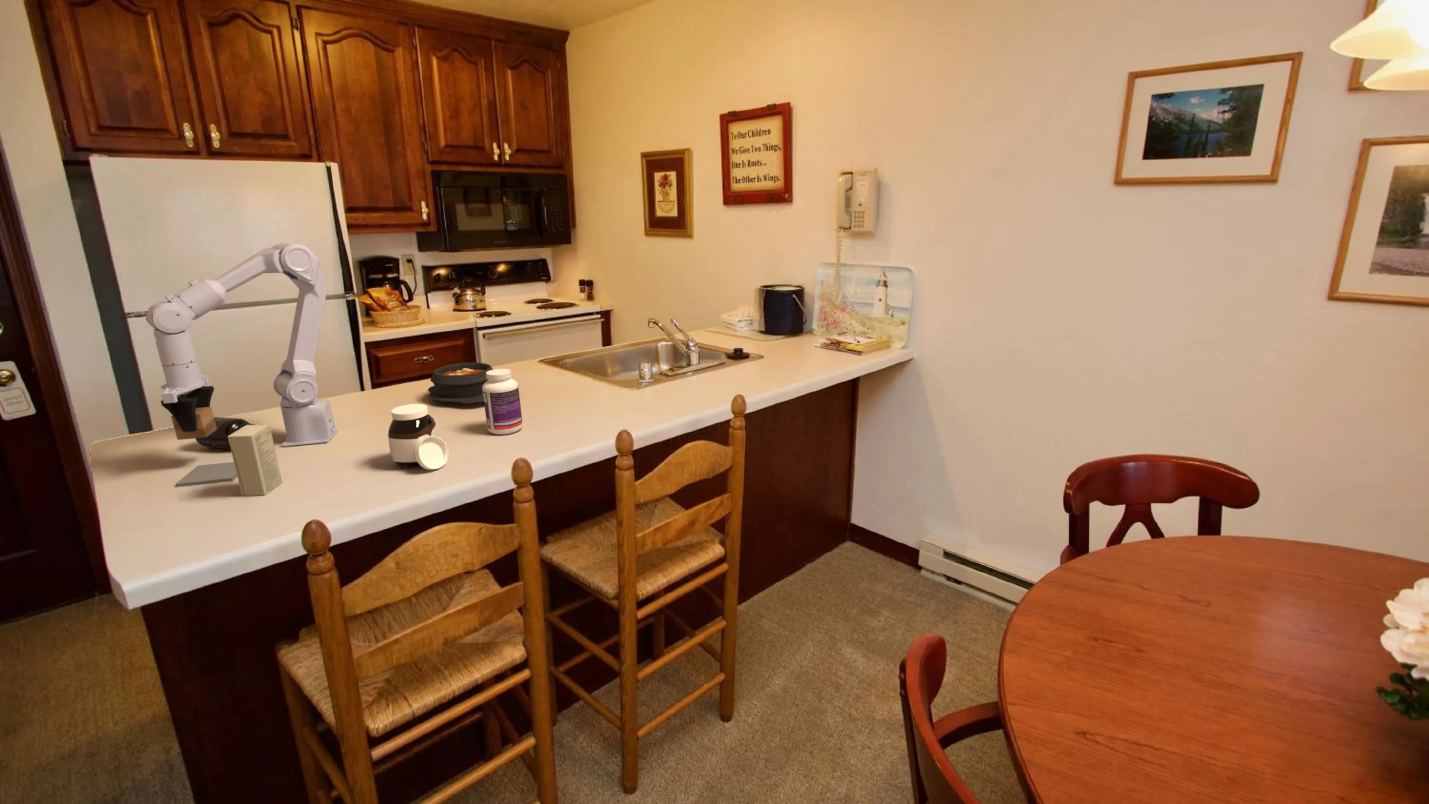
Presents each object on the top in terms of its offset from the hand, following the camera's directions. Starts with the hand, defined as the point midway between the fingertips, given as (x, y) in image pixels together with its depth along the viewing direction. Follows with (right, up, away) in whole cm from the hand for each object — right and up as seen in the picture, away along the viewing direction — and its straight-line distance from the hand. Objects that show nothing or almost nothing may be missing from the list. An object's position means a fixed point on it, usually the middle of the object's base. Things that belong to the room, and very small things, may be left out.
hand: (196, 426), depth 135 cm
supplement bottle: (-7, -2, +12) cm, 14 cm away
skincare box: (+20, -12, -10) cm, 25 cm away
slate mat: (+6, -10, -3) cm, 11 cm away
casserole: (+38, +6, +47) cm, 60 cm away
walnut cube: (0, -2, +1) cm, 2 cm away
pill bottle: (+57, -2, +21) cm, 61 cm away
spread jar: (+46, -8, +2) cm, 47 cm away
